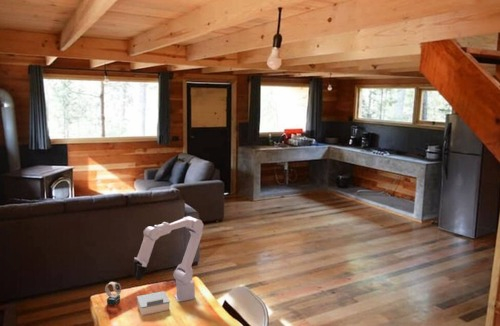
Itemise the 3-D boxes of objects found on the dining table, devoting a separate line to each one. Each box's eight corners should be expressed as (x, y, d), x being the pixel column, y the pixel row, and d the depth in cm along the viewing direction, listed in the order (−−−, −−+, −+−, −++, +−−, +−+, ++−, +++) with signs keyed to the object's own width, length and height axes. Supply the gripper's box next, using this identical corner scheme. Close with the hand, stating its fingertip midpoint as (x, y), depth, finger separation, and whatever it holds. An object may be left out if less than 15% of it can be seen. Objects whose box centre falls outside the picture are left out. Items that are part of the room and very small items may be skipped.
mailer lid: (164, 291, 220) (164, 287, 220) (169, 302, 209) (169, 298, 209) (136, 297, 214) (136, 293, 214) (140, 308, 203) (140, 304, 203)
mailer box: (164, 299, 221) (164, 292, 220) (169, 310, 210) (169, 302, 209) (137, 304, 215) (137, 297, 214) (141, 316, 204) (141, 308, 204)
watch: (118, 305, 214) (117, 285, 213) (104, 304, 216) (102, 284, 214) (123, 300, 220) (122, 281, 218) (109, 299, 221) (108, 279, 219)
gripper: (135, 246, 208) (126, 272, 206) (140, 251, 195) (130, 279, 193) (148, 249, 210) (139, 275, 209) (154, 255, 197) (145, 283, 195)
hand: (136, 277), depth 201 cm, fingers open, 7 cm apart
